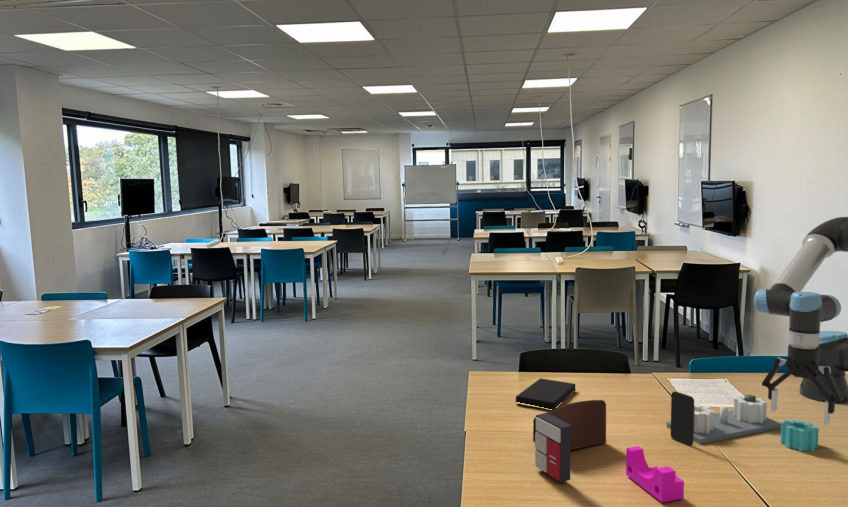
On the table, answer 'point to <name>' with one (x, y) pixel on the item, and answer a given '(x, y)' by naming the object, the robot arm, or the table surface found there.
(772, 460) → the table surface
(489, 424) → the table surface
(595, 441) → the letter holder
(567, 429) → the calculator
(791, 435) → the teal gear
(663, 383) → the table surface
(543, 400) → the black book
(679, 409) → the phone
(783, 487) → the table surface
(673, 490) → the magenta mounting bracket
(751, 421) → the gear board
